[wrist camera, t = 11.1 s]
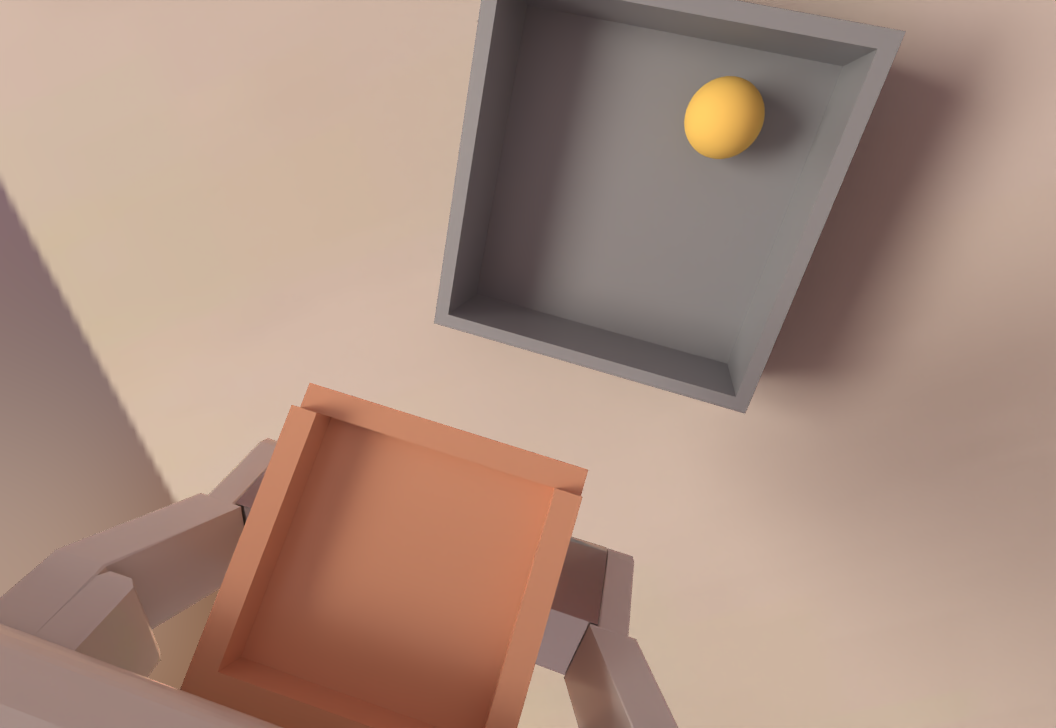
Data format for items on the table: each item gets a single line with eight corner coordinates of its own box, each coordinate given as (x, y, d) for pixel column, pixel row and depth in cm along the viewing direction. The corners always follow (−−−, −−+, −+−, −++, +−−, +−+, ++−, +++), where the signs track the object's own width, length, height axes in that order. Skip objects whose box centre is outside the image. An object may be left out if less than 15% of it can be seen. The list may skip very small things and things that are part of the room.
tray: (860, 54, 22) (905, 31, 17) (734, 373, 27) (745, 413, 23) (520, -11, 24) (487, -46, 20) (468, 298, 29) (434, 323, 25)
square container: (519, 616, 17) (494, 807, 7) (379, 569, 17) (179, 692, 7) (561, 470, 17) (590, 469, 8) (427, 428, 18) (301, 379, 8)
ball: (681, 90, 23) (727, 44, 20) (738, 124, 24) (790, 84, 21) (661, 150, 22) (705, 111, 20) (720, 183, 23) (771, 150, 20)
